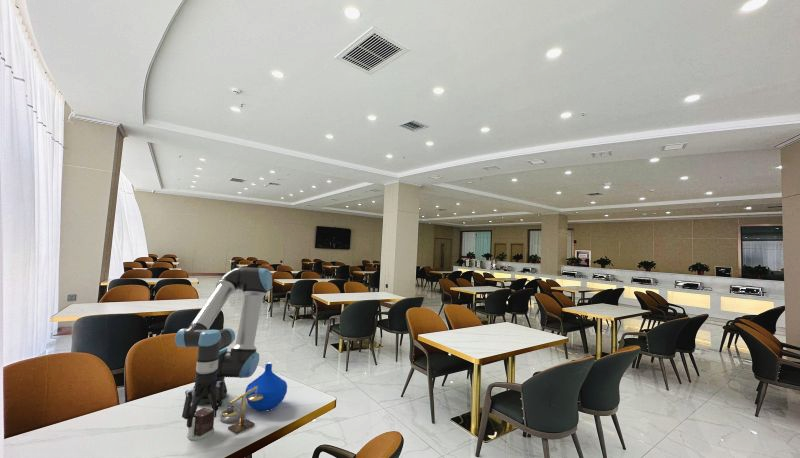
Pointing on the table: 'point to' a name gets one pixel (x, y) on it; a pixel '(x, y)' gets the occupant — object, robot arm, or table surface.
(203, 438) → the mint green rounded dome
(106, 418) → the table surface
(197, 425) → the box
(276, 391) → the vase
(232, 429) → the balance
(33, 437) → the table surface
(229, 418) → the grey plastic dome
